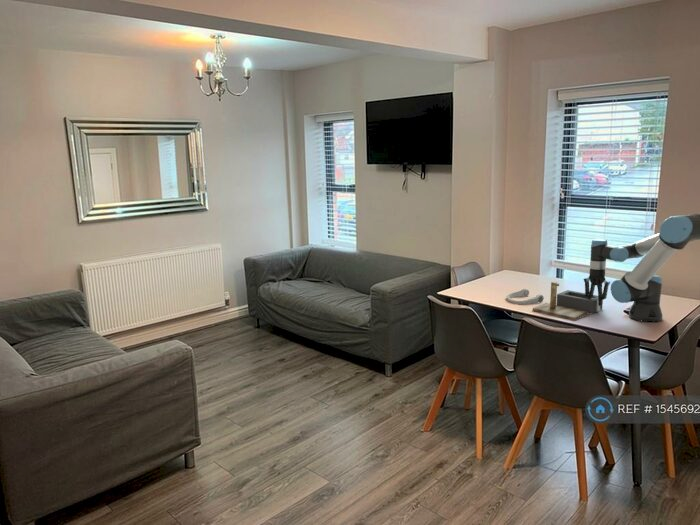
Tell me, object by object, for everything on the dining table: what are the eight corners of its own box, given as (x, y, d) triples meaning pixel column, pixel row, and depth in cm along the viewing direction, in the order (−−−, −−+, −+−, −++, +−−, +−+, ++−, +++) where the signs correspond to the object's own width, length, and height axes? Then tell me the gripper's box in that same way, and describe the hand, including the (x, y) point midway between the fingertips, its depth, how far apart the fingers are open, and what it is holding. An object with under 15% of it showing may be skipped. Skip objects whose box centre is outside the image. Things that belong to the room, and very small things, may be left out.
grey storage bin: (602, 309, 285) (603, 296, 283) (591, 313, 277) (592, 301, 276) (567, 301, 300) (567, 290, 298) (556, 306, 292) (557, 294, 291)
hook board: (587, 314, 276) (589, 285, 273) (574, 320, 268) (576, 290, 264) (545, 305, 294) (547, 277, 291) (532, 310, 286) (533, 282, 282)
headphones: (517, 306, 296) (518, 297, 295) (501, 298, 311) (501, 290, 310) (544, 302, 301) (545, 294, 300) (527, 295, 316) (527, 287, 315)
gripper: (616, 269, 273) (612, 311, 278) (586, 264, 285) (583, 306, 290) (609, 271, 269) (606, 315, 274) (579, 267, 281) (577, 308, 285)
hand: (594, 310), depth 282 cm, fingers open, 3 cm apart
